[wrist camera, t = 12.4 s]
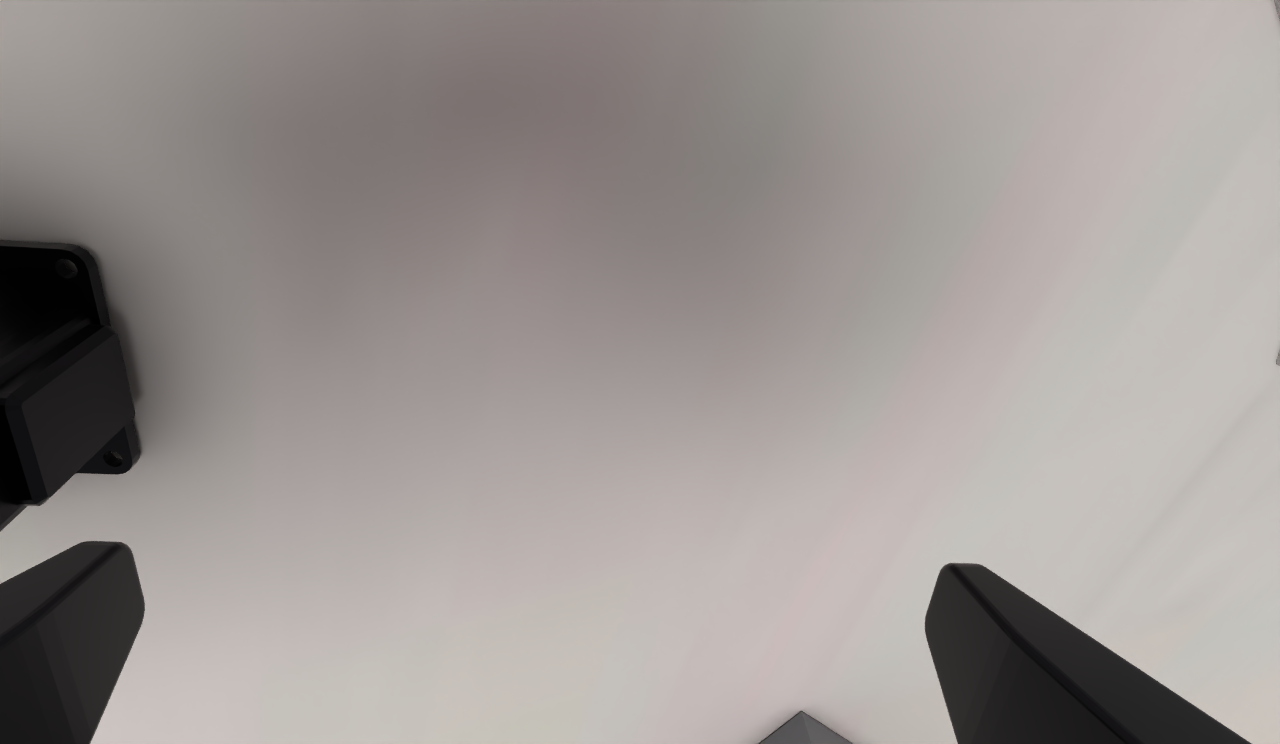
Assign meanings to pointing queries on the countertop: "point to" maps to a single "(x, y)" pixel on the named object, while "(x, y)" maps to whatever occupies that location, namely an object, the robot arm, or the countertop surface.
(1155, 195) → the countertop surface
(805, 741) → the end cap
